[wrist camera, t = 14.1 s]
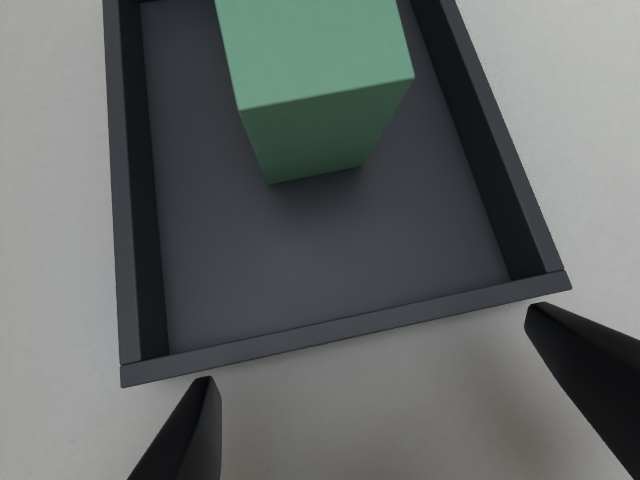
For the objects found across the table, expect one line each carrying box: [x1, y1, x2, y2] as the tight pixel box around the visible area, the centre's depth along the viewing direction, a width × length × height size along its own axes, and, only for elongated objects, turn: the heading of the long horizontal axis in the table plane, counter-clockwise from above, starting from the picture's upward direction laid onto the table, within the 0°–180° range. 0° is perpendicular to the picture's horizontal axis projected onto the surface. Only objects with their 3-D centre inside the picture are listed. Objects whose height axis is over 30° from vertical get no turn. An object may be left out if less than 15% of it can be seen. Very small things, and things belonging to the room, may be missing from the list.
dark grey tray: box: [102, 0, 572, 388], centre depth 17 cm, size 22×18×3 cm
